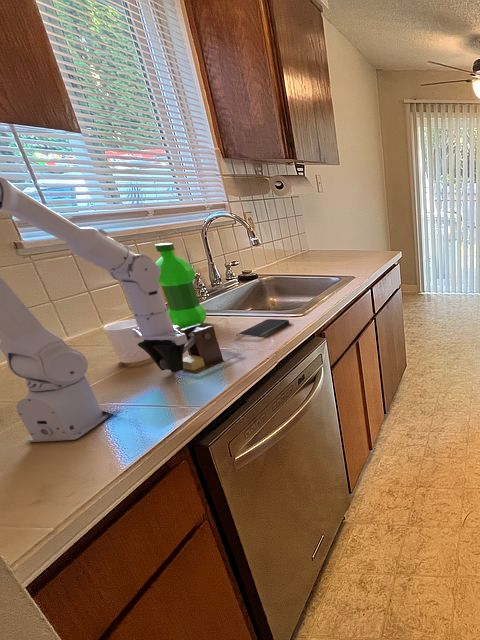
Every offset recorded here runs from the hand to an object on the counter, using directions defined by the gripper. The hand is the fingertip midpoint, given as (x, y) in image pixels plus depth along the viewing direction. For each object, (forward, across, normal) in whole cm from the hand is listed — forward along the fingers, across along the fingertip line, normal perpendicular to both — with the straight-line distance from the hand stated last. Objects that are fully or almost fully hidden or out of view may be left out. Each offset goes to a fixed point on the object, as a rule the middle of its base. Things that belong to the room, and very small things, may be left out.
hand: (172, 369), depth 90 cm
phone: (+3, +7, -31) cm, 32 cm away
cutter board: (+2, 0, -8) cm, 8 cm away
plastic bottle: (+3, +33, -27) cm, 43 cm away
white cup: (+3, +19, -4) cm, 19 cm away
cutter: (-2, 0, -4) cm, 5 cm away
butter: (+1, 0, -4) cm, 5 cm away
